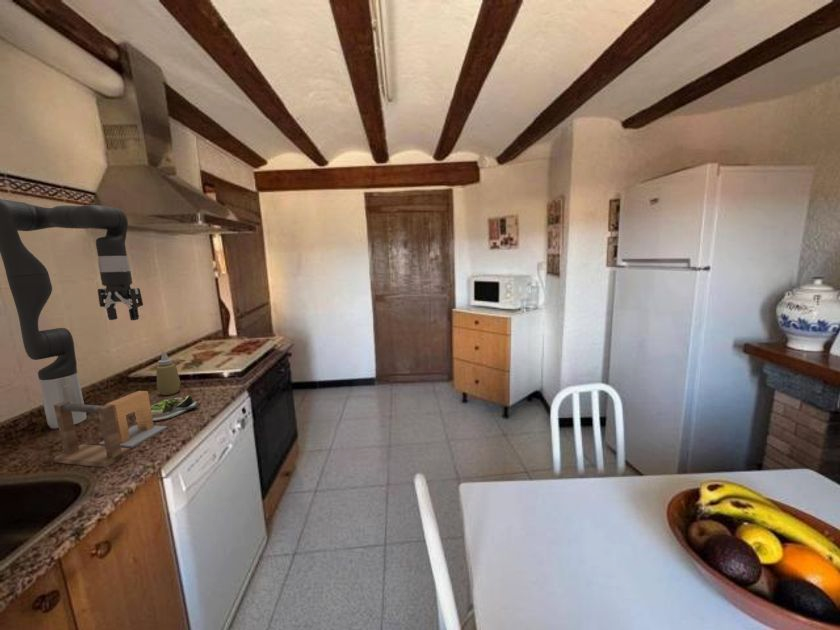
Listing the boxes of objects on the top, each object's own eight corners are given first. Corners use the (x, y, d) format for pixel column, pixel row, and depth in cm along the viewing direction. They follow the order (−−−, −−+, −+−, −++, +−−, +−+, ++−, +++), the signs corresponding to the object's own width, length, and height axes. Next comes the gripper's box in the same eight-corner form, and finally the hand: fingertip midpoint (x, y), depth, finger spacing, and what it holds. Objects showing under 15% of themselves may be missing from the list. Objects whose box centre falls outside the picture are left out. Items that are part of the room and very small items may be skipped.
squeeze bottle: (170, 397, 142) (163, 354, 139) (153, 396, 143) (146, 354, 140) (186, 389, 150) (180, 349, 147) (170, 389, 151) (163, 348, 148)
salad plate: (149, 430, 115) (147, 417, 115) (119, 421, 123) (117, 409, 122) (206, 406, 133) (204, 395, 132) (176, 400, 140) (175, 389, 139)
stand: (55, 462, 97) (43, 408, 95) (83, 448, 104) (72, 398, 102) (105, 467, 94) (94, 412, 92) (130, 453, 101) (121, 401, 98)
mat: (99, 444, 106) (98, 443, 106) (137, 425, 118) (136, 424, 118) (132, 447, 104) (131, 445, 104) (167, 428, 116) (167, 426, 116)
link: (112, 442, 106) (105, 404, 104) (144, 426, 116) (138, 390, 114) (122, 443, 106) (115, 404, 103) (153, 426, 116) (147, 391, 113)
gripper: (84, 271, 110) (94, 321, 112) (121, 270, 107) (130, 322, 110) (109, 270, 117) (117, 317, 120) (144, 269, 114) (152, 317, 117)
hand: (124, 319), depth 115 cm, fingers open, 8 cm apart
